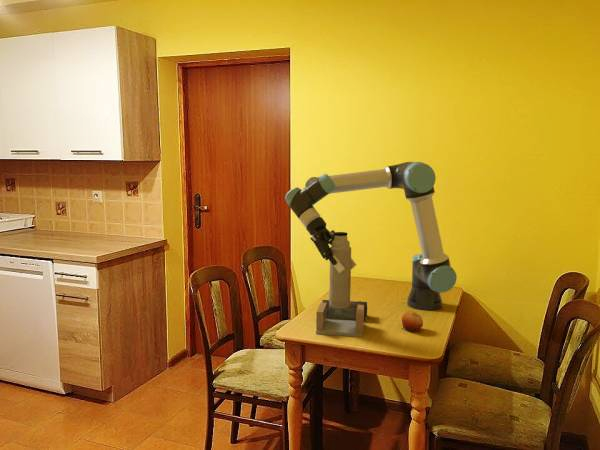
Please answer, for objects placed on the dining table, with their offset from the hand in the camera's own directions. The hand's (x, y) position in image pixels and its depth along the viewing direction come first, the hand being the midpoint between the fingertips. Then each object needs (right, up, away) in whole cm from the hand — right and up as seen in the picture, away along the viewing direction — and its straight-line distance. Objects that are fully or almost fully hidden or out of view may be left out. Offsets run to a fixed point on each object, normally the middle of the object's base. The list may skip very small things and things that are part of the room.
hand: (348, 268), depth 192 cm
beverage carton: (0, -22, +21) cm, 30 cm away
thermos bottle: (-3, -14, +4) cm, 15 cm away
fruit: (+25, -24, +5) cm, 35 cm away
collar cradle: (-2, -23, +5) cm, 24 cm away
